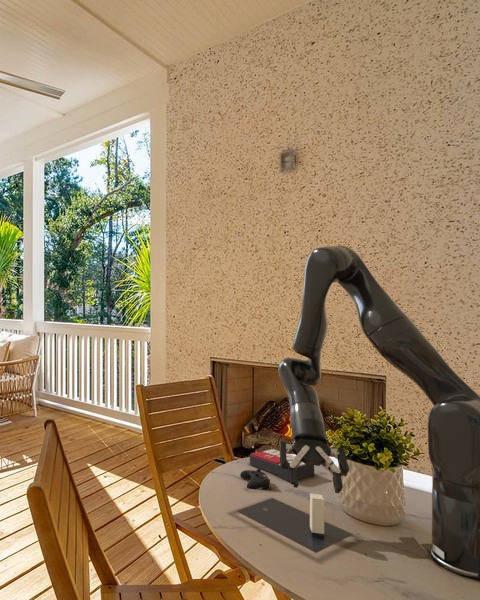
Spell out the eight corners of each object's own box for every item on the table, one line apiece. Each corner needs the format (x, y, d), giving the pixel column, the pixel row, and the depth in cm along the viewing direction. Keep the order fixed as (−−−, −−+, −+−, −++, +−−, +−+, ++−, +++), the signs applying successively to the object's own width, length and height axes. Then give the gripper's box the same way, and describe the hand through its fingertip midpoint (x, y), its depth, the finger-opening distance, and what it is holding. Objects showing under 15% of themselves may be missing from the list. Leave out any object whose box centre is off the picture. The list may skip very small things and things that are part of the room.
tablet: (360, 539, 95) (360, 535, 95) (318, 561, 87) (318, 556, 87) (271, 499, 114) (271, 495, 114) (230, 513, 106) (230, 510, 106)
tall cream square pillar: (321, 532, 96) (321, 494, 96) (324, 538, 93) (324, 499, 93) (309, 530, 96) (309, 493, 96) (311, 536, 94) (312, 497, 94)
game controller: (238, 473, 128) (253, 460, 127) (251, 487, 127) (266, 473, 127) (246, 487, 118) (262, 473, 118) (260, 502, 118) (276, 487, 117)
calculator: (272, 447, 142) (314, 460, 129) (273, 460, 142) (315, 475, 129) (248, 452, 138) (289, 466, 124) (249, 466, 137) (290, 481, 124)
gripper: (278, 414, 108) (284, 477, 97) (342, 420, 104) (356, 486, 93) (275, 429, 113) (280, 491, 102) (336, 435, 109) (348, 500, 98)
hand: (316, 489), depth 98 cm, fingers open, 8 cm apart
